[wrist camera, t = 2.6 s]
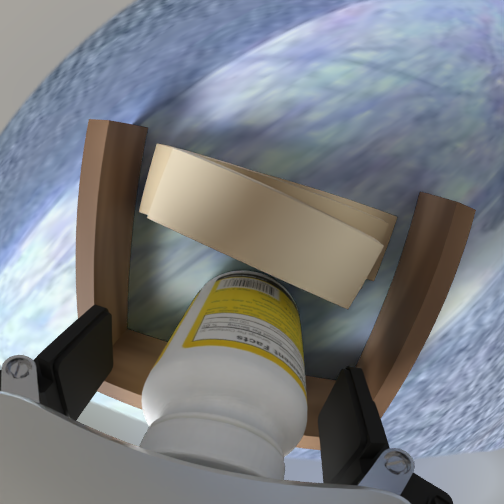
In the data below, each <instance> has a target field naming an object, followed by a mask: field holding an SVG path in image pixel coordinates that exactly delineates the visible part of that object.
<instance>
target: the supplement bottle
mask: <svg viewBox="0 0 504 504" xmlns="http://www.w3.org/2000/svg"><path fill="white" fill-rule="evenodd" d="M142 409H143V413H144V416H145V419H146V421H147V423H148V425H149V428H148V430H147V432H146V433H145V435H144V437H143V439H142V441H141V444H140V446H139V447H141V448H144V449H147V450H150V451H153V452H156V453H159V454H162V455H165V456H169V457H172V458H176V459H179V460H183V461H186V462H190V463H194V464H198V465H202V466H206V467H210V468H215V469H220V470H224V471H229V472H234V473H240V474H245V475H251V476H258V477H265V478H272V479H280V480H284V474H285V463H284V457H285V456H286V455H288V454H289V453H290V452H291V451H292V450H293V449H294V448H295V447H296V446H297V445H298V443H299V442H300V440H301V439H302V437H303V435H304V432H305V429H306V424H307V393H306V379H305V367H304V355H303V343H302V333H301V324H300V317H299V312H298V308H297V305H296V303H295V301H294V299H293V297H292V296H291V294H290V293H289V292H288V291H287V289H286V288H285V287H284V286H283V285H281V284H280V283H279V282H277V281H276V280H275V279H273V278H271V277H269V276H267V275H264V274H262V273H258V272H253V271H244V270H241V271H232V272H227V273H224V274H221V275H219V276H217V277H215V278H213V279H212V280H210V281H209V282H207V283H206V284H205V285H204V286H203V287H202V289H201V290H200V291H199V292H198V294H197V295H196V296H195V298H194V300H193V301H192V303H191V304H190V306H189V308H188V309H187V311H186V313H185V314H184V316H183V318H182V319H181V321H180V323H179V324H178V326H177V328H176V329H175V331H174V333H173V334H172V336H171V338H170V339H169V341H168V343H167V345H166V346H165V348H164V349H163V351H162V353H161V354H160V356H159V358H158V359H157V361H156V363H155V365H154V366H153V368H152V370H151V371H150V374H149V376H148V378H147V380H146V382H145V384H144V387H143V391H142Z"/></svg>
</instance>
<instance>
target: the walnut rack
mask: <svg viewBox="0 0 504 504" xmlns="http://www.w3.org/2000/svg"><path fill="white" fill-rule="evenodd" d="M147 130H148V128H147V127H142V126H137V125H132V124H126V123H121V122H115V121H110V120H93V119H89V122H88V127H87V133H86V139H85V145H84V152H83V159H82V167H81V175H80V184H79V195H78V208H77V226H76V294H77V311H78V318H79V317H81V316H82V315H83V314H84V313H85V312H86V311H87V310H89V309H90V308H91V307H92V306H93V305H99V306H102V307H104V308H107V309H108V311H109V313H111V315H112V344H113V368H112V371H111V372H110V374H109V375H108V376H107V378H106V379H105V381H104V382H103V383H102V385H101V386H100V387H99V389H98V390H97V391H98V392H100V393H102V394H105V395H107V396H109V397H112V398H114V399H116V400H119V401H121V402H124V403H126V404H129V405H132V406H134V407H137V408H140V409H142V391H143V387H144V384H145V382H146V380H147V378H148V376H149V374H150V371H151V370H152V368H153V366H154V365H155V363H156V361H157V359H158V358H159V356H160V354H161V353H162V351H163V349H164V348H165V346H166V345H167V343H168V342H166V341H163V340H160V339H157V338H153V337H150V336H147V335H144V334H141V333H138V332H135V331H132V330H129V329H127V314H128V285H129V267H130V253H131V242H132V231H133V221H134V213H135V204H136V197H137V189H138V182H139V176H140V169H141V163H142V157H143V151H144V146H145V140H146V135H147ZM475 211H476V210H475V209H473V208H470V207H468V206H466V205H463V204H461V203H459V202H456V201H452V200H449V199H446V198H442V197H439V196H435V195H431V194H428V193H424V192H420V193H419V197H418V201H417V205H416V208H415V212H414V215H413V219H412V222H411V226H410V229H409V232H408V235H407V239H406V242H405V245H404V248H403V251H402V254H401V257H400V260H399V263H398V266H397V269H396V271H395V274H394V277H393V280H392V282H391V285H390V288H389V290H388V293H387V296H386V298H385V301H384V303H383V306H382V308H381V311H380V313H379V316H378V318H377V320H376V323H375V325H374V327H373V330H372V332H371V334H370V336H369V339H368V341H367V343H366V345H365V347H364V350H363V352H362V354H361V356H360V358H359V360H358V362H357V364H356V366H355V367H357V368H361V369H362V370H363V373H364V376H365V379H366V382H367V385H368V388H369V391H370V394H371V397H372V400H373V401H374V402H375V404H376V406H377V410H378V413H379V416H380V418H381V417H382V416H383V414H384V413H385V411H386V410H387V408H388V406H389V405H390V403H391V402H392V400H393V399H394V397H395V395H396V394H397V392H398V391H399V389H400V387H401V386H402V384H403V382H404V381H405V379H406V377H407V375H408V374H409V372H410V370H411V368H412V367H413V365H414V363H415V361H416V359H417V358H418V356H419V354H420V352H421V350H422V348H423V346H424V344H425V342H426V340H427V338H428V336H429V334H430V332H431V330H432V328H433V326H434V324H435V322H436V319H437V317H438V315H439V313H440V311H441V308H442V306H443V304H444V301H445V299H446V297H447V294H448V292H449V289H450V287H451V284H452V282H453V279H454V277H455V274H456V271H457V268H458V266H459V263H460V260H461V257H462V254H463V251H464V248H465V245H466V242H467V239H468V236H469V233H470V229H471V226H472V222H473V219H474V215H475ZM305 379H306V393H307V424H306V429H305V432H304V435H303V437H302V439H301V440H300V442H299V443H298V445H297V446H296V447H298V448H306V449H316V450H321V449H320V439H319V430H318V416H319V413H320V411H321V409H322V407H323V405H324V404H325V402H326V400H327V398H328V396H329V394H330V392H331V390H332V388H333V386H334V384H335V382H336V380H330V379H324V378H318V377H312V376H306V375H305ZM142 410H143V409H142Z"/></svg>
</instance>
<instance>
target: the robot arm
mask: <svg viewBox="0 0 504 504" xmlns="http://www.w3.org/2000/svg"><path fill="white" fill-rule="evenodd" d="M112 368H113V344H112V315H111V313H109V311H108V309H107V308H104V307H102V306H99V305H93V306H92V307H91V308H90V309H89V310H87V311H86V312H85V313H84V314H83V315H82V316H81V317H79V318H78V319H77V320H76V321H75V322H74V323H73V324H72V325H71V326H69V327H68V328H67V329H66V330H65V331H64V332H63V333H62V334H61V335H59V336H58V337H57V338H56V339H55V340H54V341H53V342H52V343H51V344H50V345H49V346H47V347H46V348H45V349H44V350H43V351H42V352H41V353H40V354H39V355H38V356H37V357H36V358H35V359H34V360H32V359H31V358H29V357H27V356H24V355H15V356H12V357H9V358H8V359H7V360H5V362H4V363H3V365H2V370H0V504H453V501H452V499H451V497H450V496H449V495H448V494H447V493H446V492H444V491H442V490H441V489H439V488H438V487H436V486H434V485H433V484H431V483H429V482H427V481H426V480H424V479H423V478H421V477H420V476H418V475H416V474H415V473H413V472H414V468H415V465H414V461H413V458H412V457H411V456H410V455H409V454H408V453H407V452H406V451H404V450H401V449H398V448H389V444H388V441H387V438H386V435H385V431H384V428H383V425H382V422H381V419H380V416H379V413H378V410H377V406H376V404H375V402H374V401H373V400H372V397H371V394H370V391H369V388H368V385H367V382H366V379H365V376H364V373H363V370H362V369H361V368H357V367H350V366H348V367H346V369H342V370H341V371H340V373H339V376H338V378H337V380H336V382H335V384H334V386H333V388H332V390H331V392H330V394H329V396H328V398H327V400H326V402H325V404H324V405H323V407H322V409H321V411H320V413H319V416H318V430H319V439H320V449H321V460H322V470H323V482H324V483H312V482H300V481H289V480H280V479H272V478H265V477H258V476H251V475H245V474H240V473H234V472H229V471H224V470H220V469H215V468H210V467H206V466H202V465H198V464H194V463H190V462H186V461H183V460H179V459H176V458H172V457H169V456H165V455H162V454H159V453H156V452H153V451H150V450H147V449H144V448H141V447H138V446H135V445H133V444H130V443H127V442H124V441H122V440H119V439H117V438H114V437H112V436H109V435H107V434H104V433H102V432H100V431H98V430H95V429H93V428H91V427H89V426H86V425H84V424H82V423H80V422H78V421H76V420H77V419H78V417H79V416H80V414H81V413H82V411H83V410H84V408H85V407H86V406H87V404H88V403H89V401H90V400H91V399H92V397H93V396H94V394H95V393H96V392H97V390H98V389H99V387H100V386H101V385H102V383H103V382H104V381H105V379H106V378H107V376H108V375H109V374H110V372H111V371H112Z"/></svg>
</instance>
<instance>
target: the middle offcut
mask: <svg viewBox="0 0 504 504" xmlns="http://www.w3.org/2000/svg"><path fill="white" fill-rule="evenodd" d="M173 148H176V147H172V146H169V145H163V144H157V145H156V148H155V152H154V155H153V159H152V162H151V166H150V169H149V173H148V177H147V181H146V184H145V188H144V192H143V196H142V200H141V205H140V209H139V212H141V213H144V214H146V215H148V214H149V211H150V208H151V205H152V202H153V199H154V197H155V194H156V191H157V188H158V186H159V183H160V180H161V178H162V175H163V172H164V170H165V167H166V165H167V162H168V160H169V157H170V155H171V152H172V150H173ZM177 149H180V148H177ZM186 151H187V150H186ZM189 152H190V151H189ZM191 153H194V152H191ZM194 154H196V155H198V156H201V157H203V158H206V159H208V160H211V161H213V162H215V163H218V164H220V165H223V166H225V167H227V168H230V169H232V170H234V171H237V172H239V173H241V174H243V175H246V176H248V177H250V178H252V179H255V180H257V181H259V182H261V183H264V184H266V185H268V186H270V187H272V188H275V189H277V190H279V191H281V192H283V193H285V194H287V195H290V196H292V197H294V198H296V199H298V200H300V201H302V202H304V203H306V204H308V205H311V206H313V207H315V208H317V209H319V210H321V211H323V212H325V213H327V214H329V215H331V216H333V217H335V218H337V219H339V220H341V221H343V222H345V223H347V224H349V225H350V226H352V227H354V228H356V229H358V230H360V231H362V232H364V233H366V234H368V235H370V236H371V237H373V238H375V239H376V240H377V241H379V242H380V243H382V240H383V238H384V235H385V233H386V230H387V228H388V225H389V223H387V222H385V221H384V220H382V219H380V218H378V217H375V216H373V215H370V214H368V213H366V212H363V211H361V210H358V209H356V208H353V207H351V206H348V205H346V204H343V203H341V202H338V201H336V200H333V199H331V198H328V197H325V196H323V195H320V194H317V193H315V192H312V191H309V190H307V189H304V188H301V187H299V186H296V185H293V184H290V183H287V182H285V181H282V180H279V179H276V178H273V177H270V176H267V175H264V174H261V173H258V172H255V171H252V170H249V169H246V168H243V167H240V166H237V165H234V164H230V163H227V162H224V161H221V160H218V159H214V158H211V157H208V156H204V155H201V154H197V153H194ZM363 284H364V283H363ZM362 286H363V285H362ZM361 288H362V287H361Z"/></svg>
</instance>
